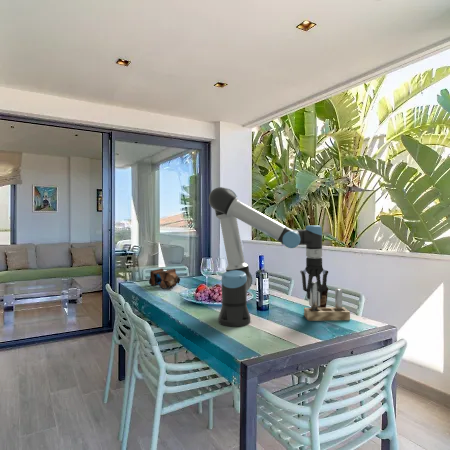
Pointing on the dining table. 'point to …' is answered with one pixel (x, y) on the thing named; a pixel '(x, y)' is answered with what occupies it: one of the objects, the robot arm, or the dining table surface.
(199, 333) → the dining table surface
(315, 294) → the peg
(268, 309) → the dining table surface
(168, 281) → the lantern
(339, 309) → the peg right
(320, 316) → the hole block
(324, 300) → the coffee cup
